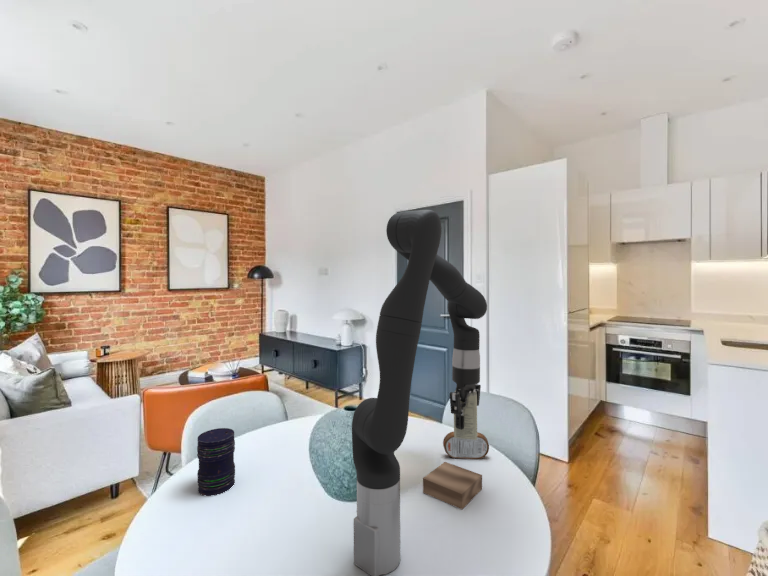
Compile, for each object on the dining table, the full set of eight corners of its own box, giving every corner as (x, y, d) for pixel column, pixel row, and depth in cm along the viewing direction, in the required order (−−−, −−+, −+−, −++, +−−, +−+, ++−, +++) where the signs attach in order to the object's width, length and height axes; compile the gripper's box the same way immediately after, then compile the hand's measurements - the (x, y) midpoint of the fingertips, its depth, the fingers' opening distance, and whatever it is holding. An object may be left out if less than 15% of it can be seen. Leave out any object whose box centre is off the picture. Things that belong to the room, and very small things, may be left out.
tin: (487, 456, 121) (487, 431, 121) (490, 460, 118) (490, 435, 118) (443, 454, 122) (442, 430, 122) (443, 459, 119) (443, 434, 119)
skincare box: (477, 434, 101) (478, 391, 101) (476, 440, 97) (477, 395, 97) (454, 431, 103) (454, 389, 103) (452, 437, 99) (453, 393, 99)
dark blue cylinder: (202, 500, 97) (201, 445, 96) (193, 485, 104) (193, 434, 104) (240, 487, 103) (239, 435, 103) (229, 473, 111) (229, 425, 110)
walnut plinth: (462, 509, 92) (462, 494, 92) (423, 492, 100) (423, 478, 100) (482, 489, 101) (482, 474, 101) (444, 474, 109) (444, 461, 109)
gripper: (466, 371, 92) (465, 437, 92) (489, 362, 103) (489, 421, 103) (440, 366, 97) (440, 429, 97) (466, 359, 108) (465, 415, 108)
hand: (465, 425), depth 100 cm, fingers closed on skincare box, 5 cm apart
